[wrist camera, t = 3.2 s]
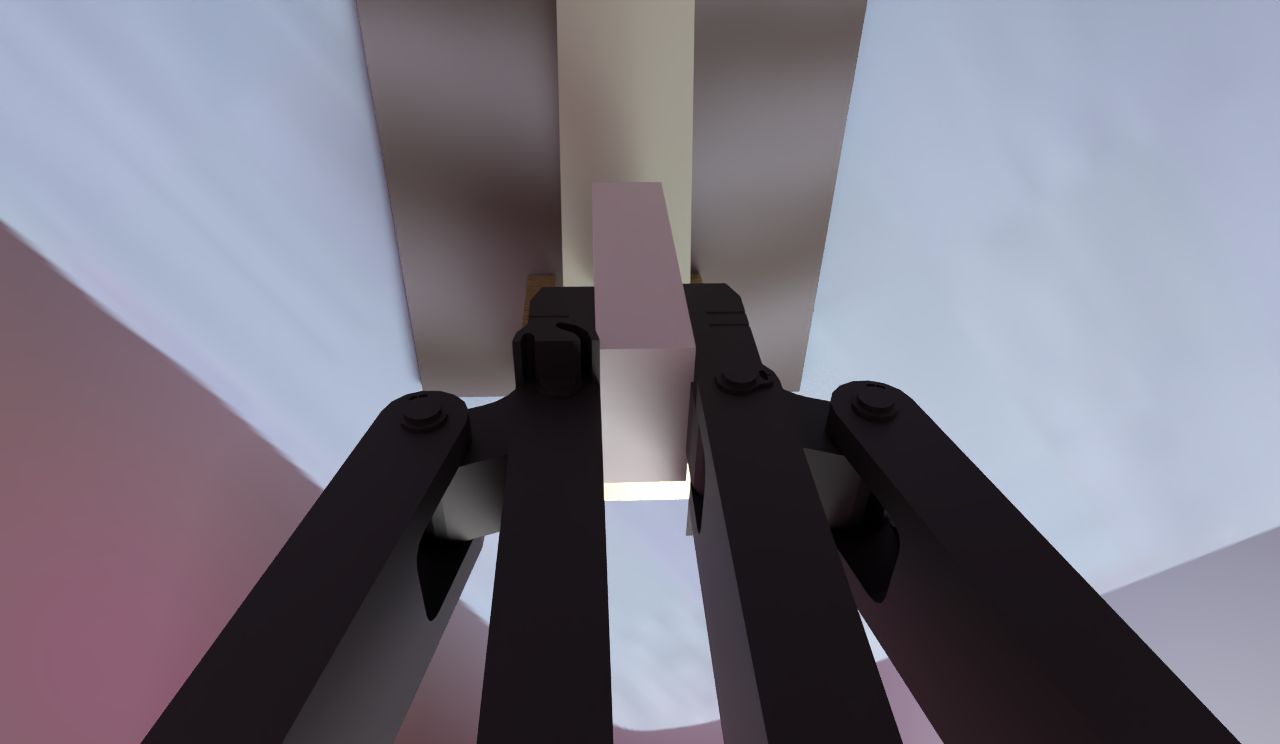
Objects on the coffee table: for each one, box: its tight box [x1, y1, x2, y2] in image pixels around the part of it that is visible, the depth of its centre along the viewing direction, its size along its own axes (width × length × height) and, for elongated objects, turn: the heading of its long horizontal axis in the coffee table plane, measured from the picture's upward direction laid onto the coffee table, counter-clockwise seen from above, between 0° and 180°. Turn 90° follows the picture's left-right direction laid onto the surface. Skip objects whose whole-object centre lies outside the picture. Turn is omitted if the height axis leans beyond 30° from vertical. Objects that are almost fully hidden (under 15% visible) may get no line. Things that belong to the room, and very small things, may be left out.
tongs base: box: [356, 0, 867, 397], centre depth 22 cm, size 29×15×5 cm, turn 179°
